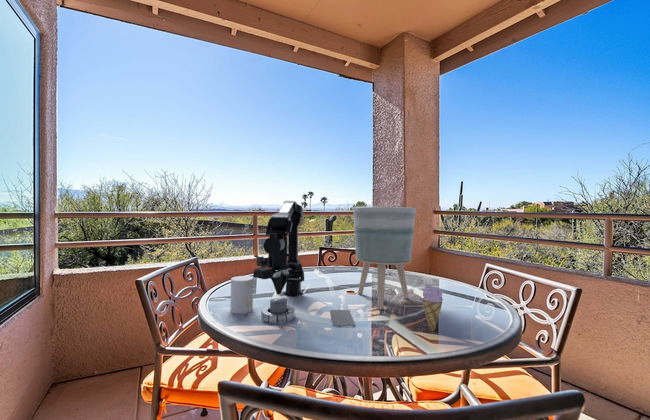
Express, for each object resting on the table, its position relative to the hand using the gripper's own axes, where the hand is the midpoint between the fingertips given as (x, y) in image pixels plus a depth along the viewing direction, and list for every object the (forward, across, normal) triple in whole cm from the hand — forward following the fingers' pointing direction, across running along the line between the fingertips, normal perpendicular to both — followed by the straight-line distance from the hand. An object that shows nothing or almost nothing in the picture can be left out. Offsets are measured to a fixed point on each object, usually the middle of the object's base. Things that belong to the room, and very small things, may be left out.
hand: (278, 294), depth 102 cm
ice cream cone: (+8, -25, +46) cm, 53 cm away
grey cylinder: (+8, +4, -16) cm, 19 cm away
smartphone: (+9, -14, +18) cm, 24 cm away
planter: (+8, -43, +19) cm, 48 cm away
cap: (+8, 0, 0) cm, 8 cm away
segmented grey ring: (+8, 0, 0) cm, 8 cm away
